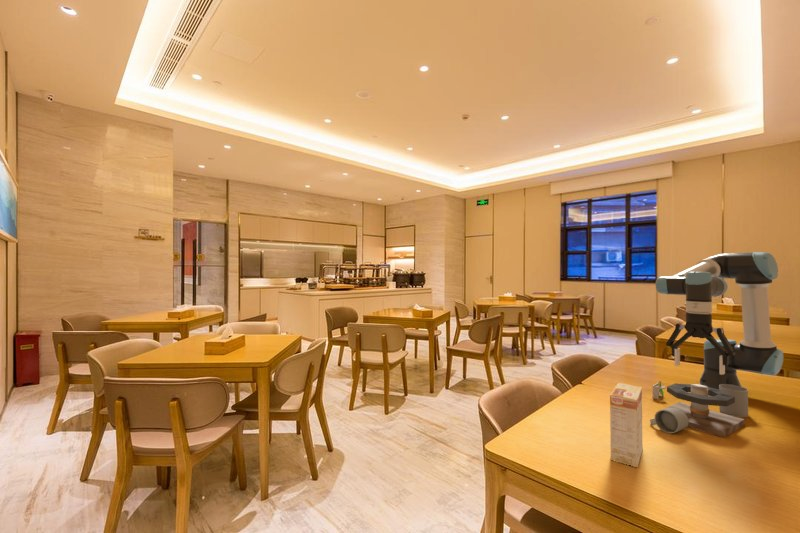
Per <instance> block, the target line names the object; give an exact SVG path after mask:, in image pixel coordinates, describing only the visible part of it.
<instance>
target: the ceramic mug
mask: <svg viewBox="0 0 800 533" xmlns="http://www.w3.org/2000/svg"><path fill="white" fill-rule="evenodd" d="M649 421H650V424H651V425H656V426H657V427H658V428H659V429H660V430H661V431H662V432H664V433H667V434H676V433H677V432H680V431H683V430H685V429H687V428H688V427H687V426H688V423H689V421H688V417H687V416H686V414H685V413H684V412H683V411H681V410H679V409H676V408H669V409H665V408H663V409H659V410H658V411H656V413H655V414H654V418H651V419H649Z"/></svg>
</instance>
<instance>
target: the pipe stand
mask: <svg viewBox="0 0 800 533" xmlns="http://www.w3.org/2000/svg"><path fill="white" fill-rule="evenodd" d="M690 384H691V392H690V393H692V394H696V395H701V396H709V395H708V387H707V386H704V385H700V383H698V384H697V383H690ZM669 408H676V409H679V410H681V411H683V412H684V413H685V414H686V416H687V417H688V421H689V423H688V426H687V427H686V428H691V429H693V430H697V431H700V432H703V433H707V434H710V435H713V436H716V437H720V438H722V439H725V438H727V437H728V436H729V435H731V434H733V433H735V431H738V430H739V429H740V428H742V427H743V426H745V423H746V422H745V418H743V417H736V416H731V415H728V414H725V413H722V412H720V411H715V410H712V409H709V405H701V404H697V403H693V402H690V404H687V403H685V402H682V401H681V402H680V401H679V402H677V403H674V404H672V405H669V406H668V407H665V408H664V409H669Z"/></svg>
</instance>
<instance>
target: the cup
mask: <svg viewBox="0 0 800 533" xmlns="http://www.w3.org/2000/svg"><path fill="white" fill-rule="evenodd" d="M719 390H722V391H724V392H726V393H728V394H730V395H732V396H734V397H735V402H734V403H733V404H731V405H729V406H718V408H719V412H720V413H723V414H727V415H731V416H735V417H738V418H749V390H748V388H746V387H743V386H742V387H740V386H735V385H728V384H721V385H719Z"/></svg>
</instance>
